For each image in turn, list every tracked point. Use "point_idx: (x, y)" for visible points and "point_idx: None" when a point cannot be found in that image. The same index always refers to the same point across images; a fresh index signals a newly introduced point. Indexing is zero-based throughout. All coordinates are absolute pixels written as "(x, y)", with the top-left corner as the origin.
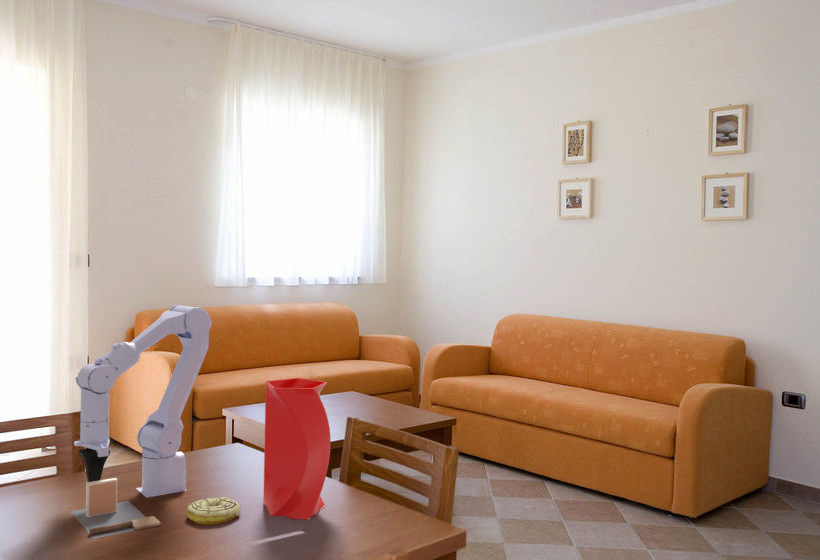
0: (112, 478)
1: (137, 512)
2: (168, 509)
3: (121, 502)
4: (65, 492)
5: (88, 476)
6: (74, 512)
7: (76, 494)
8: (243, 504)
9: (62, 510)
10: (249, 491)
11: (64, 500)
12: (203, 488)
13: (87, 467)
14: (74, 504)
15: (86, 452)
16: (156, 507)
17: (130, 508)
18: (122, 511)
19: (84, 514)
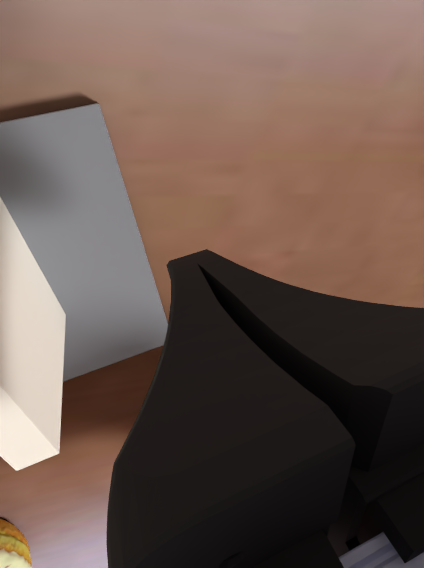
0: (44, 442)
1: None
2: (68, 445)
3: (163, 322)
4: (415, 97)
5: (174, 281)
6: (71, 127)
7: (365, 145)
8: (69, 558)
9: (178, 59)
10: None
11: (323, 84)
12: None
13: (166, 335)
14: (246, 131)
15: (225, 544)
16: (100, 413)
17: (74, 361)
18: None
19: (21, 183)
